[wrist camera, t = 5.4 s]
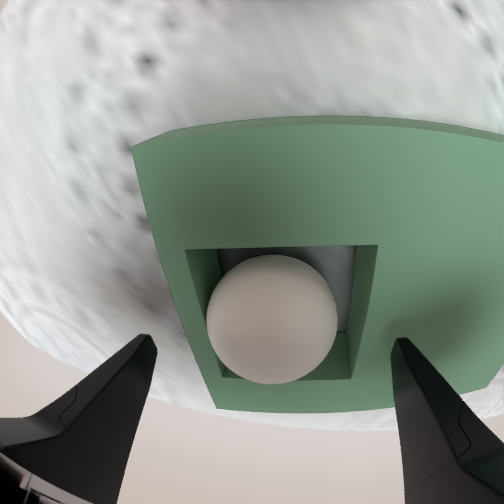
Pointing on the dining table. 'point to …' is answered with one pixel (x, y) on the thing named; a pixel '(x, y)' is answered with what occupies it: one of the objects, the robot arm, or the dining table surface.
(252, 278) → the ball
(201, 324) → the green shape sorter board
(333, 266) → the dining table surface
